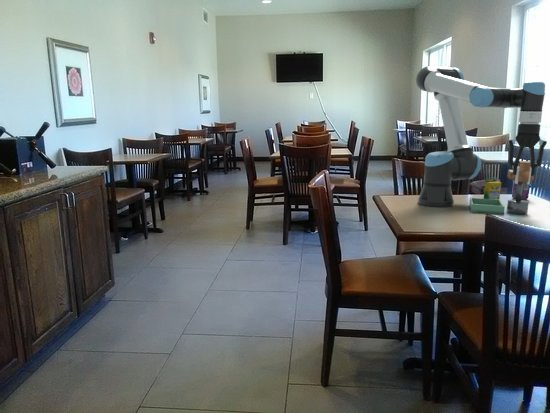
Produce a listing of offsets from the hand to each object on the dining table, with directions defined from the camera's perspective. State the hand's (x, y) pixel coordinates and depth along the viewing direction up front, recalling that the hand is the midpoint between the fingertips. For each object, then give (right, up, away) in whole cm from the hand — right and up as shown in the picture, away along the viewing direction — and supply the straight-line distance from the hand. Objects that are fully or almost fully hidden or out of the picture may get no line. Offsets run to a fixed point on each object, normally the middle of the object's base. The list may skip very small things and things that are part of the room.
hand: (522, 183), depth 182 cm
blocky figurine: (+2, -12, +8) cm, 15 cm away
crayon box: (+2, -8, +31) cm, 32 cm away
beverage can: (+21, -6, +42) cm, 48 cm away
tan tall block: (+1, +2, +4) cm, 4 cm away
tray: (-7, -10, +16) cm, 20 cm away
